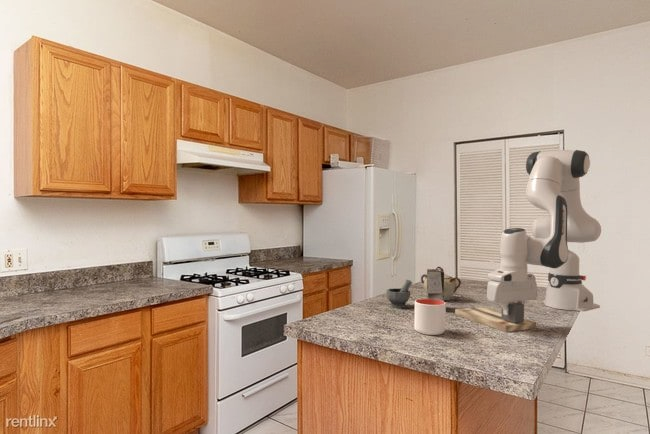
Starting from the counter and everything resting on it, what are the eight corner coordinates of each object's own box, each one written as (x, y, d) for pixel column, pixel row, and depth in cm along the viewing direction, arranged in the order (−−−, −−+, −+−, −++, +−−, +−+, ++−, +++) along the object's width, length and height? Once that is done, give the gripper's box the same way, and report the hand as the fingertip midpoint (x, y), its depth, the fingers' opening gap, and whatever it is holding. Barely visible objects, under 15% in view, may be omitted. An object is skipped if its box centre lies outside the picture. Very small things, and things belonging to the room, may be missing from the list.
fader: (509, 317, 143) (510, 301, 143) (523, 321, 138) (524, 304, 138) (501, 318, 142) (501, 301, 142) (515, 323, 136) (515, 305, 136)
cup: (440, 338, 126) (440, 306, 126) (409, 332, 132) (410, 302, 132) (448, 330, 135) (449, 301, 135) (419, 325, 140) (420, 297, 140)
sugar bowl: (412, 298, 187) (413, 266, 187) (428, 293, 198) (428, 263, 198) (453, 304, 174) (453, 270, 174) (467, 299, 185) (467, 267, 185)
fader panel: (482, 311, 162) (482, 306, 162) (535, 328, 139) (536, 322, 139) (455, 314, 157) (455, 308, 157) (505, 332, 134) (505, 325, 134)
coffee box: (444, 312, 160) (444, 272, 160) (427, 311, 162) (428, 271, 162) (442, 307, 169) (442, 269, 169) (426, 306, 171) (426, 268, 171)
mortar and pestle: (382, 306, 169) (382, 278, 169) (394, 303, 176) (394, 275, 176) (405, 311, 161) (405, 281, 161) (417, 307, 168) (417, 278, 168)
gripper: (527, 272, 147) (527, 309, 147) (484, 274, 139) (483, 314, 139) (542, 274, 141) (542, 313, 141) (498, 277, 133) (497, 318, 133)
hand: (512, 314), depth 140 cm, fingers closed on fader, 4 cm apart
